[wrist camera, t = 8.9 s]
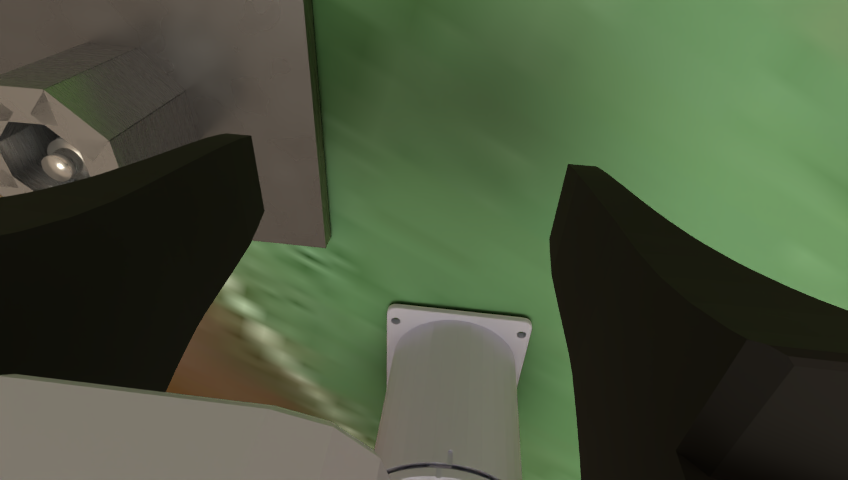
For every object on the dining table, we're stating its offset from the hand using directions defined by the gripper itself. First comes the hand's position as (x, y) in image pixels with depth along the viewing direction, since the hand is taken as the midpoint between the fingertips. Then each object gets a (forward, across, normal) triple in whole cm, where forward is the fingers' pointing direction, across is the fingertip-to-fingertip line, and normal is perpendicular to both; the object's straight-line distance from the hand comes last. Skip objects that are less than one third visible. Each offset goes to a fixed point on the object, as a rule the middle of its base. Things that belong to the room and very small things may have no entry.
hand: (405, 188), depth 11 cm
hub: (+9, +13, +3) cm, 16 cm away
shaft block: (+10, +13, +3) cm, 17 cm away
